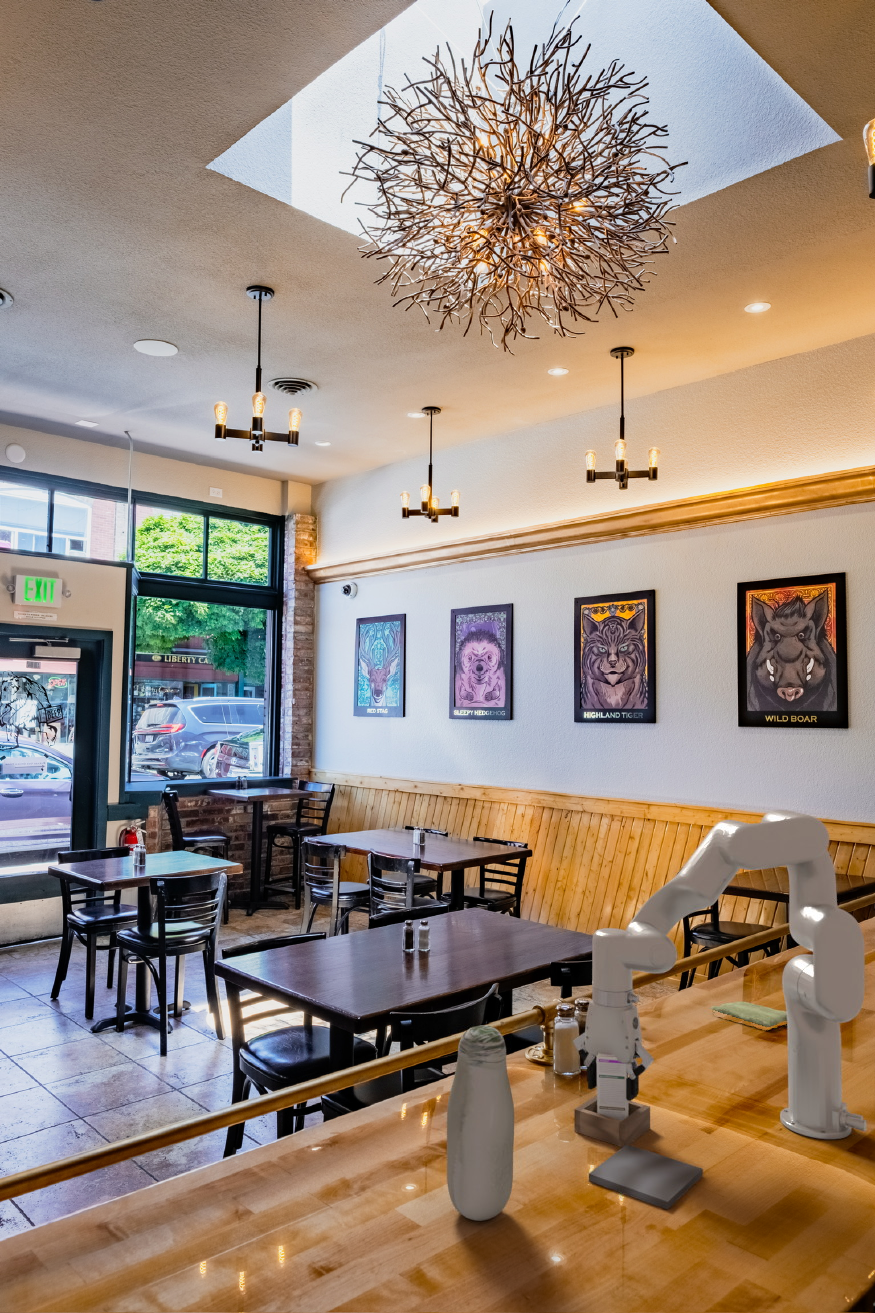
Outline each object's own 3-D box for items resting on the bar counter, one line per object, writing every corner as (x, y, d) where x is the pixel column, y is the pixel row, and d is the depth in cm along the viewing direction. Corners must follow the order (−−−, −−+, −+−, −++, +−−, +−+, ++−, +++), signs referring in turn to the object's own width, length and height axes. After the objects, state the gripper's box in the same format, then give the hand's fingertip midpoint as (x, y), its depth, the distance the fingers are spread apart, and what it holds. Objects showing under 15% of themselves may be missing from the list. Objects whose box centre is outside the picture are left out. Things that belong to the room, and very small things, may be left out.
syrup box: (628, 1138, 166) (628, 1057, 167) (596, 1135, 168) (596, 1054, 169) (628, 1125, 172) (628, 1046, 173) (597, 1122, 173) (597, 1044, 174)
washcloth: (738, 1008, 247) (737, 996, 248) (796, 1025, 233) (796, 1013, 233) (707, 1016, 240) (707, 1004, 240) (766, 1035, 225) (766, 1022, 226)
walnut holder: (650, 1128, 171) (650, 1106, 171) (625, 1148, 162) (625, 1125, 163) (601, 1113, 177) (601, 1092, 177) (574, 1131, 169) (574, 1109, 169)
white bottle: (493, 1239, 133) (495, 1043, 135) (434, 1218, 138) (437, 1030, 140) (523, 1209, 141) (524, 1025, 143) (467, 1191, 147) (469, 1014, 149)
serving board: (702, 1176, 153) (702, 1168, 153) (667, 1210, 142) (667, 1202, 142) (627, 1151, 161) (627, 1144, 161) (588, 1181, 150) (588, 1173, 150)
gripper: (663, 1001, 169) (664, 1099, 168) (581, 984, 180) (581, 1075, 179) (646, 1010, 163) (646, 1112, 162) (562, 992, 174) (562, 1087, 173)
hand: (612, 1092), depth 170 cm, fingers closed on syrup box, 7 cm apart
